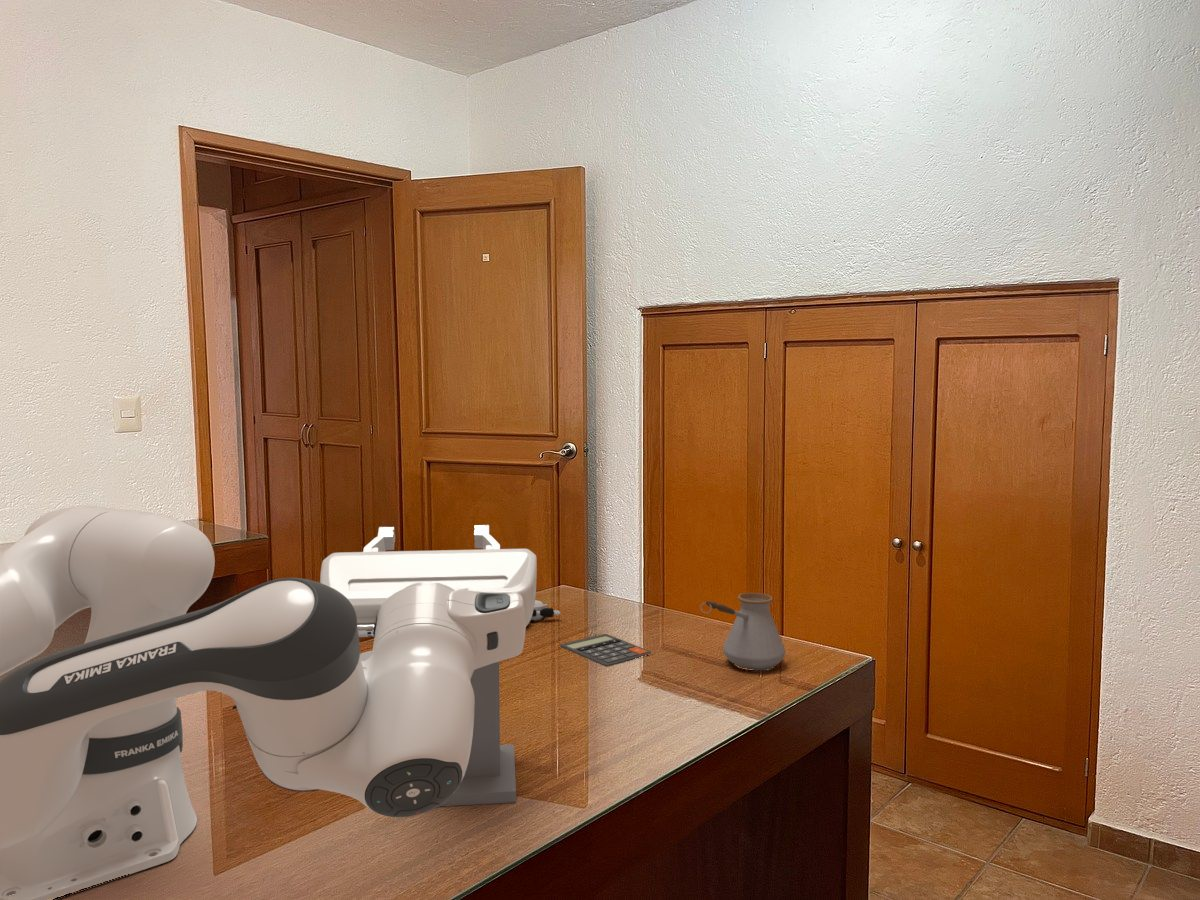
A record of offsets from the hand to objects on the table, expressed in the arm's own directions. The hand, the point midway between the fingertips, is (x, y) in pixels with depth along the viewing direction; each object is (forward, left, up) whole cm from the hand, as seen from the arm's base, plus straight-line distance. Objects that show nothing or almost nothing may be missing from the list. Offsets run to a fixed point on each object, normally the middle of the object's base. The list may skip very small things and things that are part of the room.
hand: (435, 530), depth 90 cm
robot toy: (+77, +62, -39) cm, 107 cm away
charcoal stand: (+20, +17, -39) cm, 47 cm away
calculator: (+74, +36, -40) cm, 91 cm away
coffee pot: (+80, +10, -39) cm, 90 cm away
